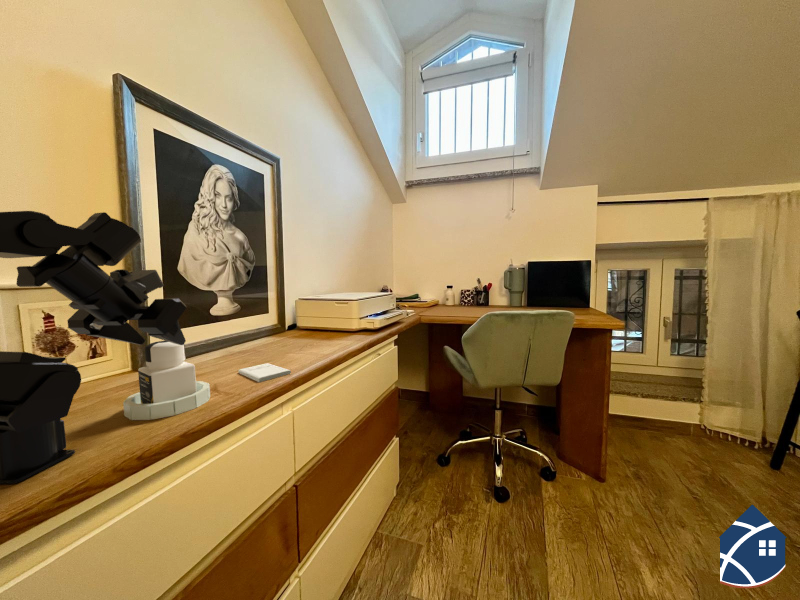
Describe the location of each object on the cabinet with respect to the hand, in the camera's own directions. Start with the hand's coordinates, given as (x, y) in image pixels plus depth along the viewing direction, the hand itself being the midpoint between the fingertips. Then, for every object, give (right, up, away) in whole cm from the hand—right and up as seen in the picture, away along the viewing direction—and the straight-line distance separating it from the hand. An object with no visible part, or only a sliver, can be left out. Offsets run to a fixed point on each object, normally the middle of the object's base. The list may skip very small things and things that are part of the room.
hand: (163, 342), depth 57 cm
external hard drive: (+10, -12, +21) cm, 26 cm away
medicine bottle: (0, -12, +1) cm, 12 cm away
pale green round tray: (0, -12, +1) cm, 12 cm away
